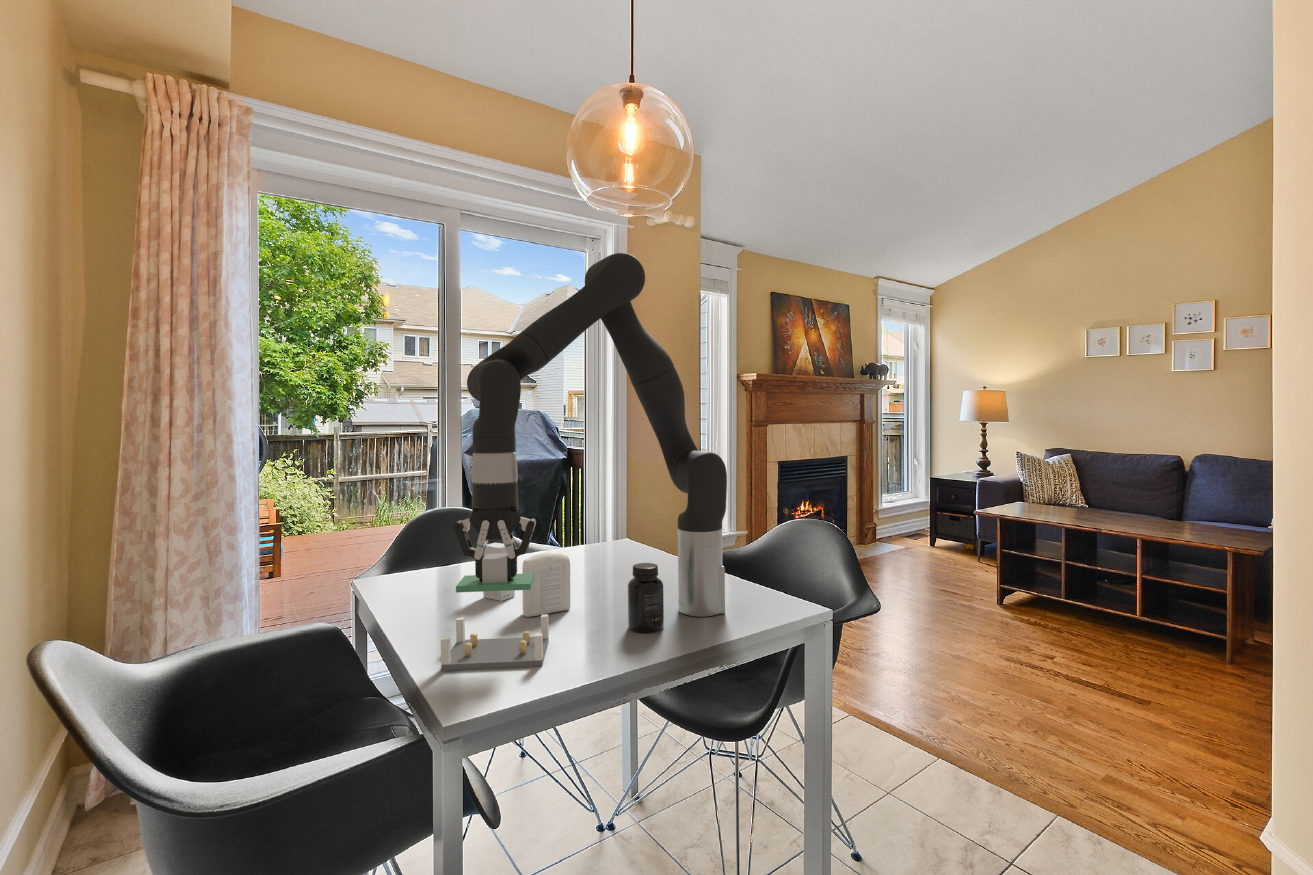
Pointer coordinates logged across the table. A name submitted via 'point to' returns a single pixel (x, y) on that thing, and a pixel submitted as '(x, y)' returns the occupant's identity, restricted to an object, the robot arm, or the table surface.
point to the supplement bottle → (645, 599)
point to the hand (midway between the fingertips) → (496, 579)
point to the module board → (508, 586)
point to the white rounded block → (547, 584)
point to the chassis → (494, 650)
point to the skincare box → (497, 595)
